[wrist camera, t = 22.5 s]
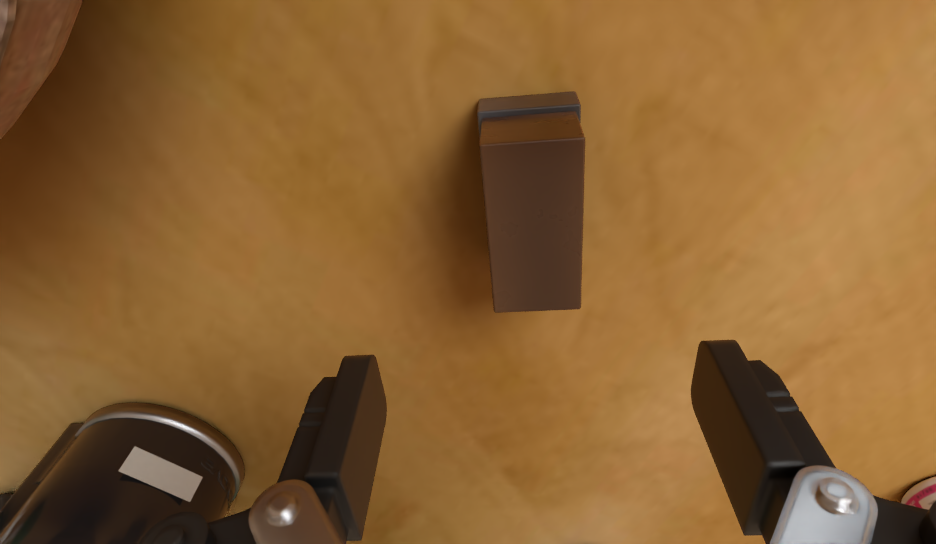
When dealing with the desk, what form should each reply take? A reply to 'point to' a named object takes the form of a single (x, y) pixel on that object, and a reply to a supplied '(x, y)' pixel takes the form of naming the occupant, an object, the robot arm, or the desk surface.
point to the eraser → (533, 199)
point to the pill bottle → (921, 494)
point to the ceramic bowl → (30, 49)
